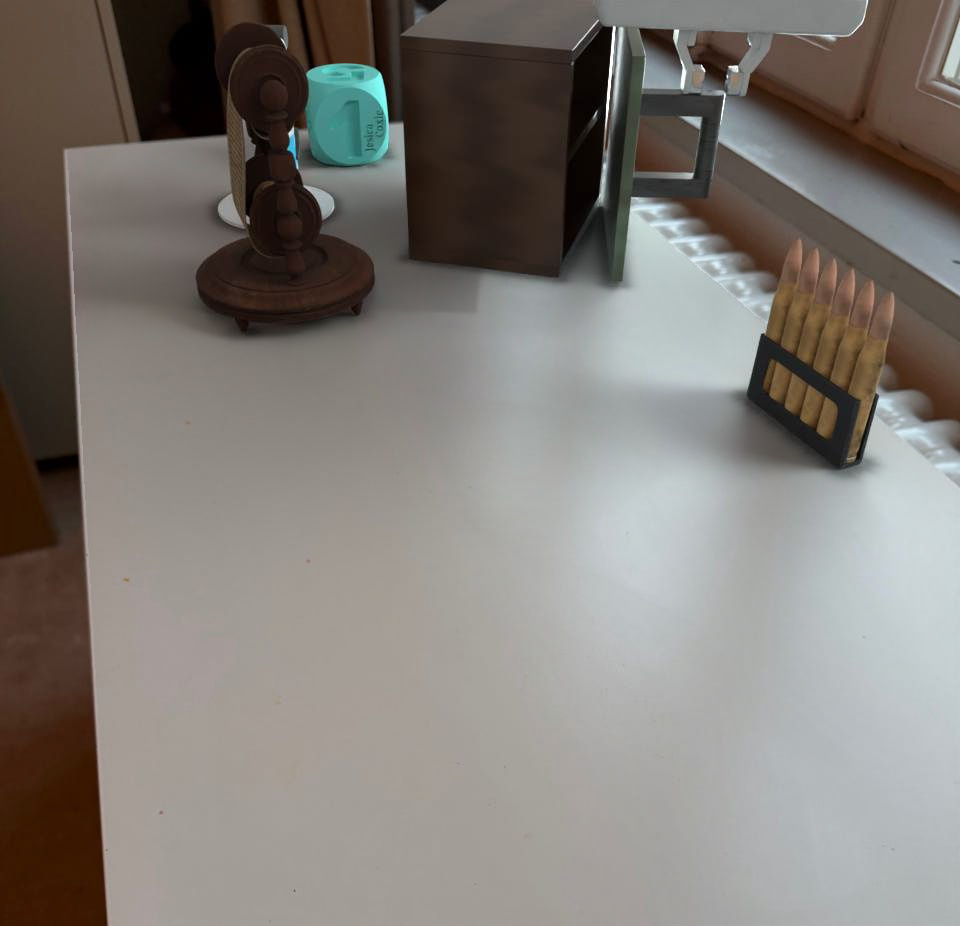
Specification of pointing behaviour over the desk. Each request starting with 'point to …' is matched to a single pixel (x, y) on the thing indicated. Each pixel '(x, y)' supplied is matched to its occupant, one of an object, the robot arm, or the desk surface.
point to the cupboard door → (623, 142)
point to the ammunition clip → (822, 358)
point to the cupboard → (504, 131)
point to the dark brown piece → (274, 199)
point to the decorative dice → (347, 114)
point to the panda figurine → (324, 199)
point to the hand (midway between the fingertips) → (712, 93)
